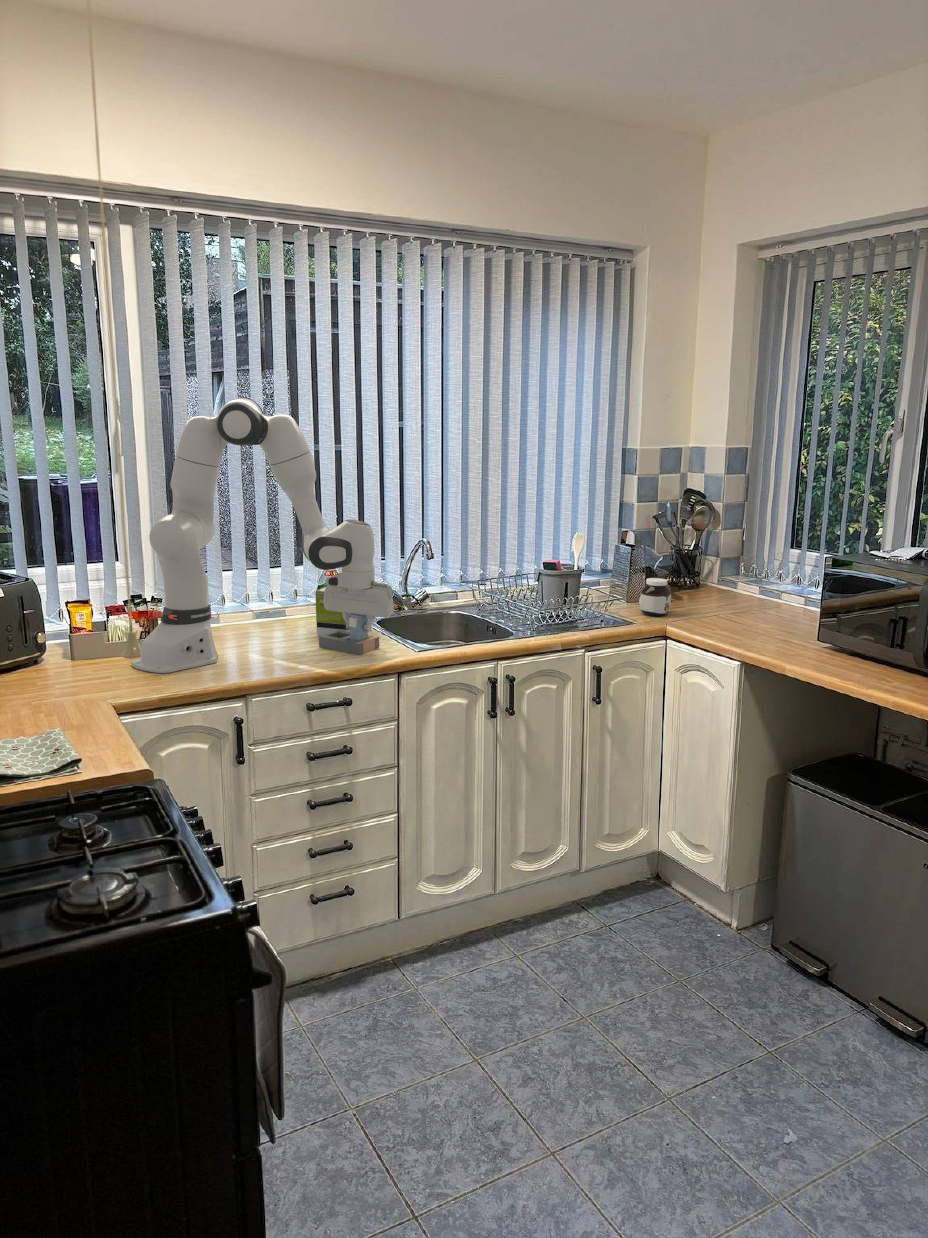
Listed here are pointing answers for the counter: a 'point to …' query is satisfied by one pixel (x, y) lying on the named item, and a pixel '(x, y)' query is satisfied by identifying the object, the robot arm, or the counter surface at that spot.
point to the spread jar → (655, 597)
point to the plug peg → (358, 627)
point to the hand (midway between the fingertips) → (358, 629)
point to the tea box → (327, 617)
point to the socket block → (348, 643)
